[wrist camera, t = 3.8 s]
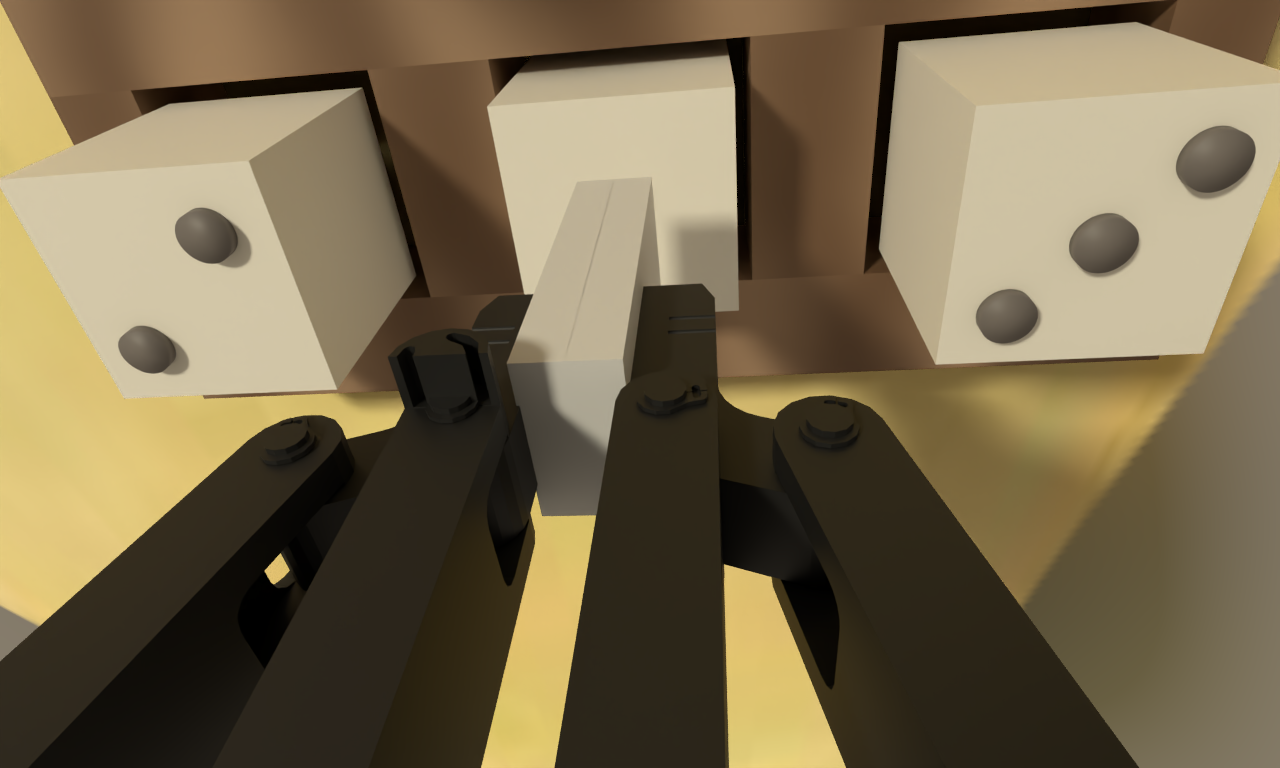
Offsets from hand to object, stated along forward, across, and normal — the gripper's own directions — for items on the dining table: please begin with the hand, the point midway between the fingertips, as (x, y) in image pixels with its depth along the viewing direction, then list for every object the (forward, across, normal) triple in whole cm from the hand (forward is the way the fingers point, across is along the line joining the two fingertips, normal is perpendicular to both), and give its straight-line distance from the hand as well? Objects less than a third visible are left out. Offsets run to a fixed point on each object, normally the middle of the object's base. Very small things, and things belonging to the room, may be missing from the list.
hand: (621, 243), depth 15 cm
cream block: (+8, 0, -1) cm, 8 cm away
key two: (+5, -10, 0) cm, 11 cm away
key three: (+6, +9, -1) cm, 11 cm away
